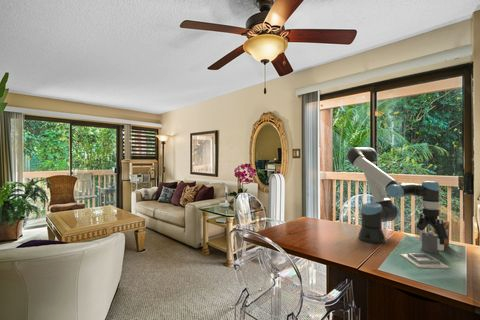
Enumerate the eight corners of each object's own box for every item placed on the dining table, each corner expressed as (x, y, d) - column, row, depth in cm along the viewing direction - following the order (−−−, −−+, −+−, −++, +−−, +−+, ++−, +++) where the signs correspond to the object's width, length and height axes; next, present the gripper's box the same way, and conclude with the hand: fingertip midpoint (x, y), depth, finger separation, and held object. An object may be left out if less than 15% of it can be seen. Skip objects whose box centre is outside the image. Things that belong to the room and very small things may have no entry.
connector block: (421, 249, 134) (422, 230, 134) (432, 249, 134) (432, 230, 133) (428, 253, 129) (428, 232, 129) (439, 253, 129) (439, 233, 128)
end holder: (400, 255, 127) (400, 251, 127) (427, 255, 126) (427, 251, 126) (418, 267, 113) (418, 263, 113) (448, 268, 112) (448, 263, 112)
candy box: (441, 249, 135) (441, 223, 134) (433, 246, 139) (433, 221, 138) (449, 246, 138) (449, 221, 138) (441, 243, 142) (441, 219, 142)
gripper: (456, 213, 118) (457, 254, 118) (421, 203, 143) (422, 237, 143) (441, 213, 119) (441, 254, 119) (409, 203, 144) (409, 237, 144)
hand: (431, 245), depth 131 cm, fingers open, 13 cm apart
